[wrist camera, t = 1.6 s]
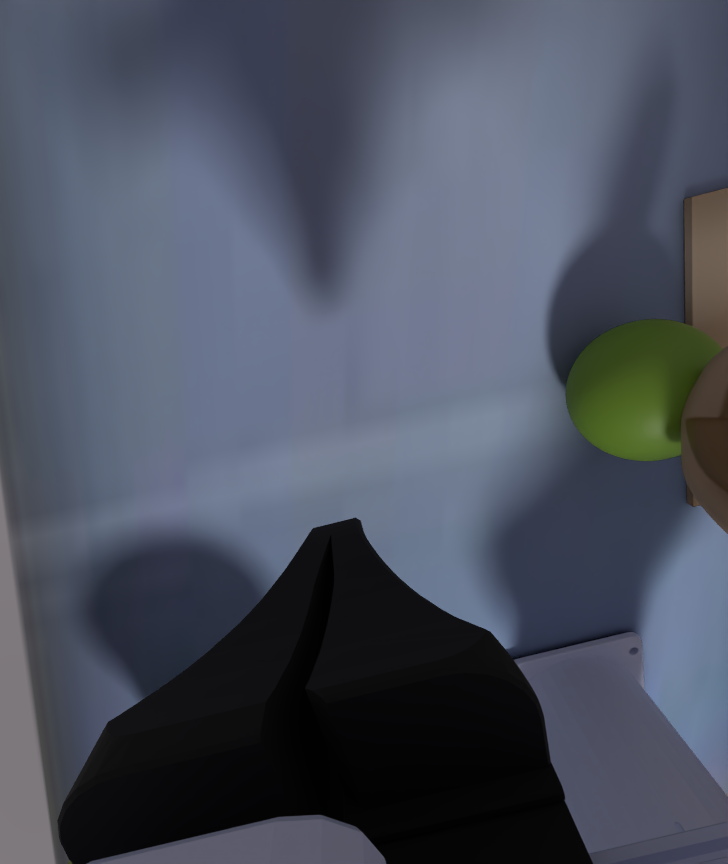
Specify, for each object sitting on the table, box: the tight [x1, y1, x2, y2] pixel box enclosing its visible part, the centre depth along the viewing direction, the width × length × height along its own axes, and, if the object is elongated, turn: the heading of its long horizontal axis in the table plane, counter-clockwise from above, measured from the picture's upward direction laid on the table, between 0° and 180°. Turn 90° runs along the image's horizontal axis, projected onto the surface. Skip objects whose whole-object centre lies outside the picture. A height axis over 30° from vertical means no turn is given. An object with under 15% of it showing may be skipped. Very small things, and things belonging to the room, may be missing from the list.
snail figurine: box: [566, 319, 728, 534], centre depth 13 cm, size 5×6×12 cm
